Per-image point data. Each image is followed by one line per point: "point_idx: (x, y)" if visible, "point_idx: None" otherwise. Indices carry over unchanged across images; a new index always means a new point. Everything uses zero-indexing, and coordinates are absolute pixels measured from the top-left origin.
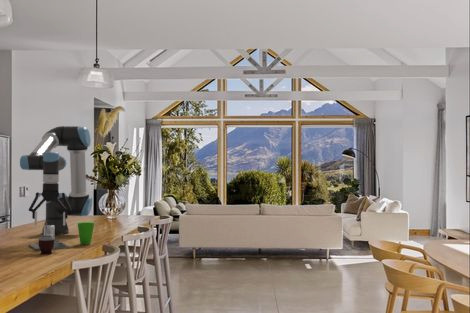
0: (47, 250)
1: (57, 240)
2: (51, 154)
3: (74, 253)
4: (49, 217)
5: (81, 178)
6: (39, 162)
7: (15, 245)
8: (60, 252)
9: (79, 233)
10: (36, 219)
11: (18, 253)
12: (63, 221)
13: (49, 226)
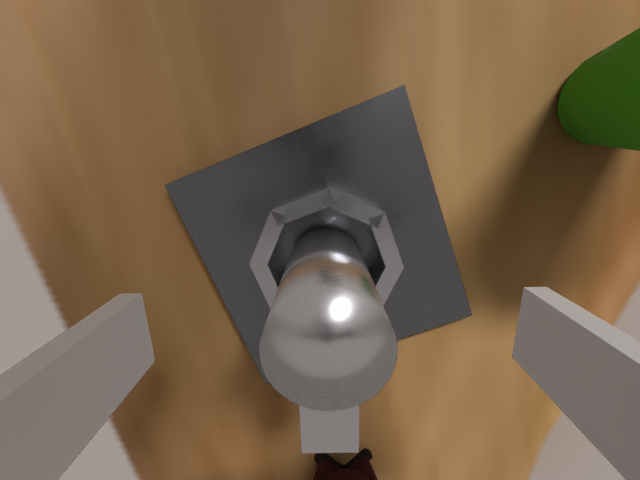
0: None
1: (392, 264)
2: None
3: (491, 475)
4: None
5: None
6: None
7: (58, 144)
8: (416, 443)
9: (635, 115)
10: (89, 399)
11: (198, 457)
12: (557, 400)
13: (338, 406)
